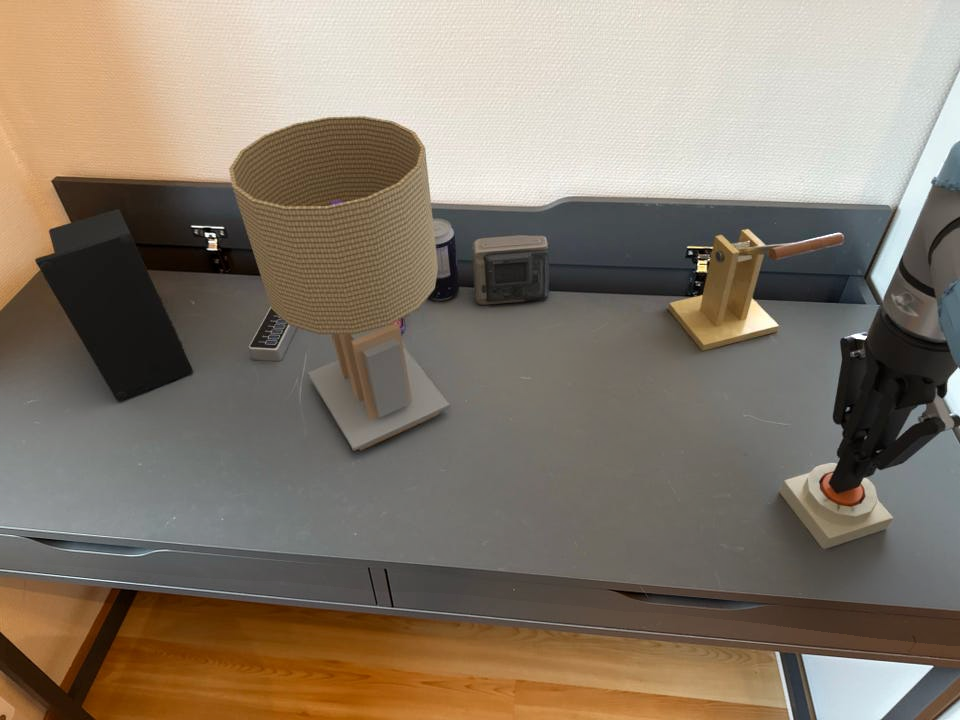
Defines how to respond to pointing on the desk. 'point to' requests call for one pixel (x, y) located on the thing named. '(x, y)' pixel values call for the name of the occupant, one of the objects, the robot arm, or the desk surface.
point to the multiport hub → (271, 338)
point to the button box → (833, 509)
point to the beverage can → (445, 261)
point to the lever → (788, 247)
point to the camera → (511, 269)
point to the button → (841, 494)
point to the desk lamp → (347, 258)
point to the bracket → (726, 299)
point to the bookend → (113, 304)
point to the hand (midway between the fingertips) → (843, 484)
